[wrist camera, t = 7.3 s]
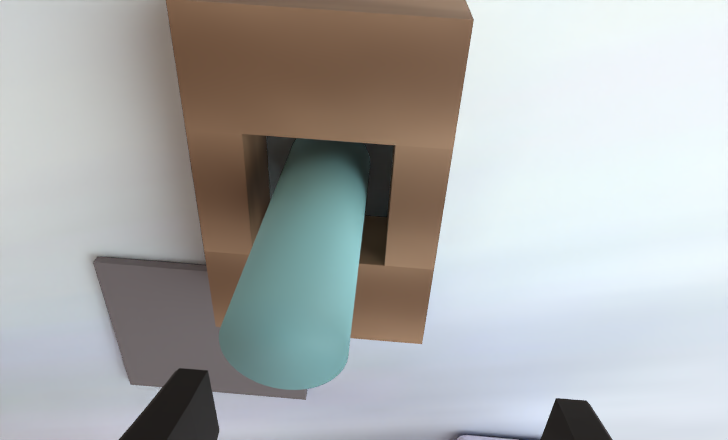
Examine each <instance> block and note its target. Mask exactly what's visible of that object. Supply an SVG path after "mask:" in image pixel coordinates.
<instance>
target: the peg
mask: <svg viewBox="0 0 728 440" xmlns="http://www.w3.org/2000/svg"><path fill="white" fill-rule="evenodd" d="M369 171H370V157H369V154H368V151H367V149H366V147H365V145H364V144H363V143H358V142H344V141H331V140H317V139H304V138H297V139H296V140H295V142H294V143H293V145H292V148H291V150H290V153H289V155H288V158H287V160H286V163H285V165H284V168H283V170H282V173H281V175H280V178H279V180H278V183H277V185H276V188H275V191H274V193H273V196H272V198H271V201H270V203H269V206H268V208H267V211H266V213H265V216H264V218H263V221H262V223H261V226H260V228H259V231H258V234H257V236H256V239H255V241H254V244H253V246H252V249H251V251H250V254H249V256H248V259H247V261H246V264H245V266H244V269H243V271H242V274H241V277H240V279H239V282H238V284H237V287H236V289H235V292H234V294H233V297H232V299H231V302H230V304H229V307H228V309H227V312H226V315H225V317H224V320H223V322H222V325H221V327H220V331H219V344H220V348H221V351H222V353H223V355H224V356H225V358H226V359H227V361H228V362H229V363H230V364H231V365H232V367H234V368H235V369H236V370H237V371H238V372H240V373H241V374H242V375H244V376H245V377H247V378H249V379H251V380H253V381H255V382H257V383H260V384H262V385H265V386H269V387H273V388H278V389H286V390H302V389H309V388H314V387H317V386H320V385H323V384H325V383H327V382H329V381H331V380H332V379H334V378H335V377H336V376H337V375H338V374H339V373H340V372H341V371H342V370H343V368H344V367H345V365H346V363H347V359H348V353H349V345H350V336H351V327H352V319H353V310H354V301H355V293H356V284H357V275H358V267H359V258H360V249H361V241H362V232H363V223H364V215H365V206H366V197H367V189H368V180H369Z"/></svg>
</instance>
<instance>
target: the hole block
mask: <svg viewBox="0 0 728 440" xmlns="http://www.w3.org/2000/svg"><path fill="white" fill-rule="evenodd" d="M166 4H167V11H168V17H169V24H170V30H171V37H172V44H173V50H174V57H175V63H176V70H177V76H178V83H179V89H180V96H181V103H182V109H183V116H184V122H185V129H186V135H187V142H188V148H189V155H190V162H191V168H192V175H193V181H194V188H195V194H196V201H197V207H198V214H199V221H200V227H201V234H202V240H203V247H204V253H205V260H206V266H207V273H208V280H209V286H210V293H211V299H212V306H213V312H214V319H215V325H216V327H221V325H222V322H223V320H224V317H225V315H226V312H227V309H228V307H229V304H230V302H231V299H232V297H233V294H234V292H235V289H236V287H237V284H238V282H239V279H240V277H241V274H242V271H243V269H244V266H245V264H246V261H247V259H248V256H249V254H250V251H251V249H252V246H253V244H254V241H255V239H256V236H257V234H258V231H259V228H260V226H261V223H262V221H263V218H264V216H265V213H266V211H267V208H268V206H269V203H270V188H269V171H268V155H267V138H266V136H277V137H290V138H304V139H317V140H331V141H344V142H358V143H371V144H385V145H394V146H393V157H392V168H391V180H390V191H389V202H388V213H387V217H377V216H364V223H363V232H362V241H361V249H360V258H359V267H358V275H357V284H356V293H355V301H354V310H353V319H352V327H351V336H350V338H356V339H368V340H380V341H392V342H404V343H416V344H422V340H423V334H424V328H425V322H426V315H427V309H428V303H429V297H430V290H431V284H432V278H433V271H434V265H435V259H436V253H437V246H438V240H439V234H440V228H441V221H442V215H443V209H444V203H445V196H446V190H447V184H448V177H449V171H450V165H451V159H452V152H453V146H454V140H455V134H456V127H457V121H458V115H459V108H460V102H461V96H462V90H463V83H464V77H465V71H466V65H467V58H468V52H469V46H470V40H471V33H472V27H473V21H474V19H473V17H472V15H471V12H470V10H469V7H468V5H467V3H466V0H166Z"/></svg>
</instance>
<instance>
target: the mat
mask: <svg viewBox="0 0 728 440" xmlns="http://www.w3.org/2000/svg"><path fill="white" fill-rule="evenodd" d="M93 264H94V267H95V270H96V273H97V277H98V280H99V283H100V286H101V290H102V293H103V296H104V299H105V303H106V306H107V309H108V313H109V316H110V319H111V322H112V326H113V329H114V332H115V335H116V339H117V342H118V345H119V348H120V352H121V355H122V358H123V362H124V365H125V368H126V371H127V375H128V378H129V381H130V384H132V385H143V386H155V387H163V386H164V385H165V383H166V382H167V381H168V380H169V378H170V377H171V376H172V375H173V373H174V372H175V371H176V370H178V369H179V368H184V369H197V370H208V373H209V378H210V383H211V389H212V392H223V393H235V394H246V395H258V396H269V397H281V398H292V399H304V400H306V395H307V389H302V390H286V389H278V388H273V387H269V386H265V385H262V384H260V383H257V382H255V381H253V380H251V379H249V378H247V377H245V376H244V375H242V374H241V373H240V372H238V371H237V370H236V369H235V368H234V367H232V365H231V364H230V363H229V362H228V361H227V359H226V358H225V356H224V355H223V353H222V351H221V348H220V344H219V331H220V327H216V325H215V319H214V312H213V306H212V299H211V293H210V286H209V280H208V273H207V266H206V265H196V264H184V263H171V262H159V261H147V260H134V259H122V258H110V257H97V258H96V259H95V261H94V262H93Z"/></svg>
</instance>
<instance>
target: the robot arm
mask: <svg viewBox="0 0 728 440" xmlns="http://www.w3.org/2000/svg"><path fill="white" fill-rule="evenodd" d="M218 434H219V426H218V420H217V415H216V410H215V404H214V399H213V394H212V389H211V383H210V378H209V373H208V370H197V369H184V368H179V369H178V370H176V371H175V372H174V373H173V375H172V376H171V377H170V378H169V380H168V381H167V382H166V383H165V385H164V386H163V387H162V388H161V390H160V391H159V392H158V393H157V395H156V396H155V397H154V398H153V400H152V401H151V402H150V403H149V405H148V406H147V407H146V408H145V409H144V411H143V412H142V413H141V414H140V415H139V417H138V418H137V419H136V420H135V421H134V423H133V424H132V425H131V426H130V427H129V429H128V430H127V431H126V432H125V433H124V434H123V435H122V437H121V438H120V439H119V440H217V438H218ZM457 440H517V439H506V438H494V437H483V436H472V435H463V436H460V437H458V438H457ZM541 440H612V438H611V437H610V435H609V433H608V432H607V430H606V429H605V427H604V426H603V424H602V423H601V421H600V420H599V418H598V416H597V415H596V413H595V412H594V410H593V409H592V407H591V405H590V404H589V403H588V402H587V401H584V400H571V399H559V398H556V400H555V403H554V405H553V408H552V411H551V413H550V416H549V419H548V421H547V424H546V427H545V429H544V432H543V434H542V437H541Z"/></svg>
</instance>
